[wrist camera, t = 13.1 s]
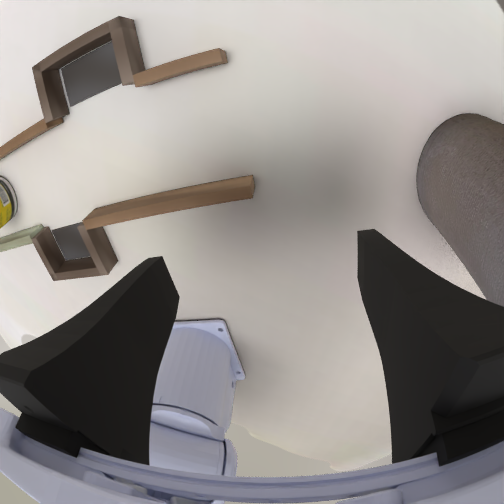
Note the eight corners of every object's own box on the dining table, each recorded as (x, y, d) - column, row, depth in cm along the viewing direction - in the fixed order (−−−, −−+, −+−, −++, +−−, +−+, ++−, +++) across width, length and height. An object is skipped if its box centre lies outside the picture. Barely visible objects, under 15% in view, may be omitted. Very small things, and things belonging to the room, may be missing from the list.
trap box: (266, 240, 22) (264, 256, 20) (4, 277, 27) (-5, 287, 26) (211, -7, 12) (203, -15, 11) (-50, 151, 18) (-62, 157, 16)
